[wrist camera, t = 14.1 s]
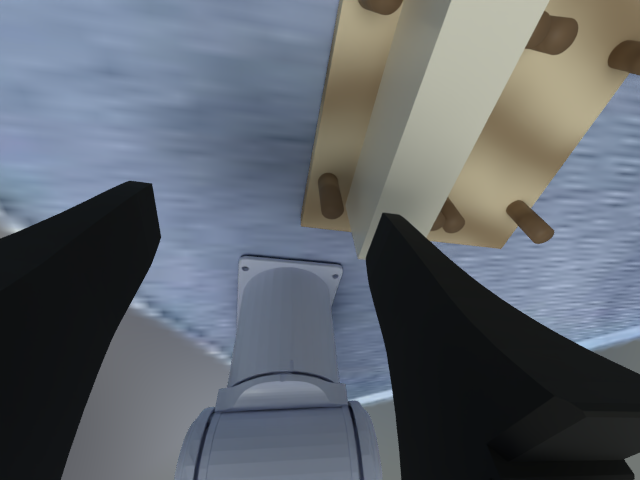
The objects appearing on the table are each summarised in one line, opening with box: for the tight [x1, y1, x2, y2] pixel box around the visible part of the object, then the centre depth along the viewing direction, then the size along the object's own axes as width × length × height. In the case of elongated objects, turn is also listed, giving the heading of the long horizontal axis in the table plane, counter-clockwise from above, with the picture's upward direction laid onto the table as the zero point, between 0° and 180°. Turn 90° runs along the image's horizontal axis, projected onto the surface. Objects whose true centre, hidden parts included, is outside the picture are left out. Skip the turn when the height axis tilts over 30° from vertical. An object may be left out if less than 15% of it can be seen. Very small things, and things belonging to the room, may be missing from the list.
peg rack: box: [301, 0, 640, 249], centre depth 16 cm, size 16×15×4 cm
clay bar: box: [345, 0, 550, 260], centre depth 14 cm, size 12×3×5 cm, turn 169°
